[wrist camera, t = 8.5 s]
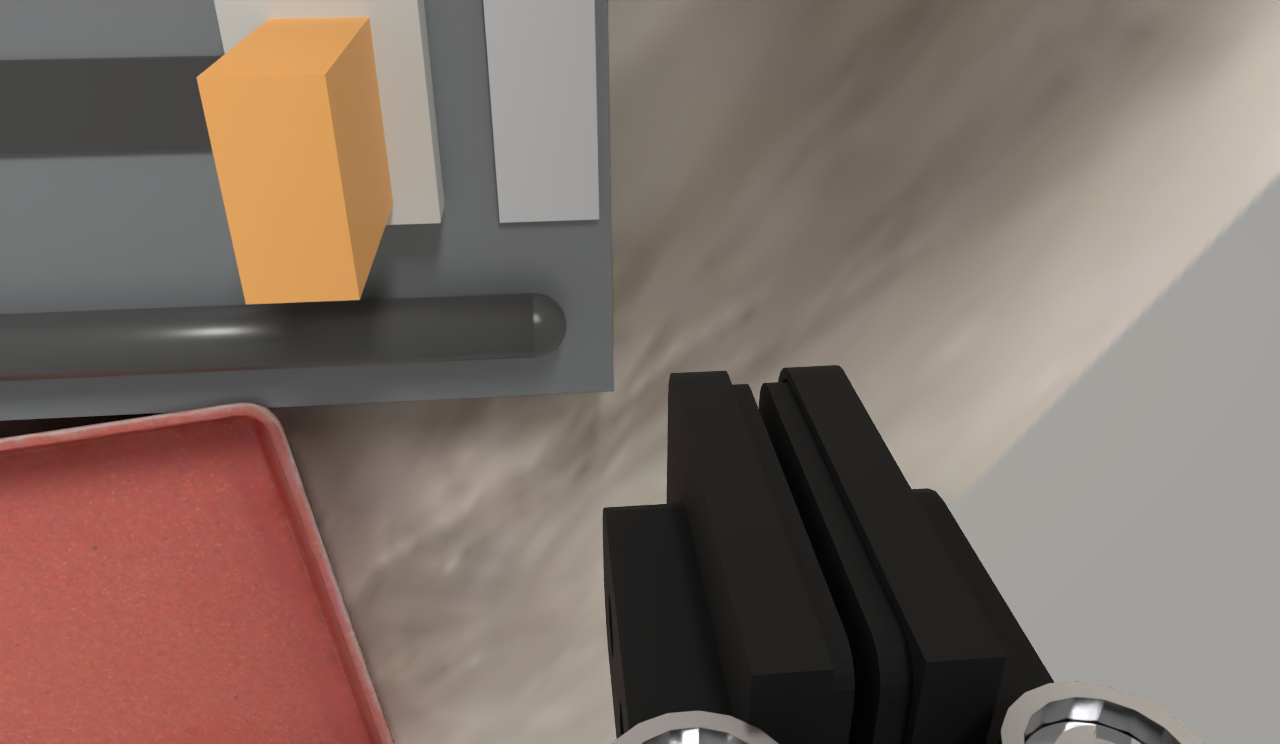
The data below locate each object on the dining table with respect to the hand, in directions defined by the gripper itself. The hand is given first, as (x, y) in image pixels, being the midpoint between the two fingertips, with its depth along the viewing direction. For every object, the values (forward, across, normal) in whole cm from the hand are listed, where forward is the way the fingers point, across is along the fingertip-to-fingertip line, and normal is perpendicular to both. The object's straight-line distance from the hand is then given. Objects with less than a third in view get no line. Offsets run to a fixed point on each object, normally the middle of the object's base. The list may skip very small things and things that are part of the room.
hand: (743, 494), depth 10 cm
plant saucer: (+18, +17, +17) cm, 30 cm away
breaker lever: (+15, +6, -1) cm, 16 cm away
